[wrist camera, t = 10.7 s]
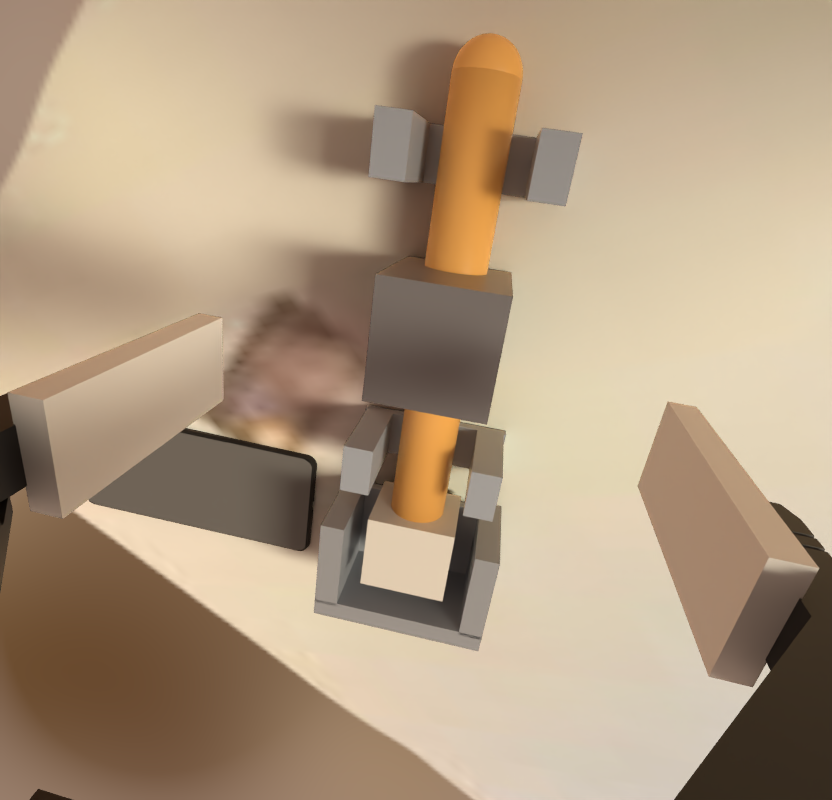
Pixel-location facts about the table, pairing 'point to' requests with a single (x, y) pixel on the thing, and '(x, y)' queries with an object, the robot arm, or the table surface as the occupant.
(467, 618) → the end holder
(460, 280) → the orange rod with blocks
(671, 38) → the table surface
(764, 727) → the robot arm
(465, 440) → the clip
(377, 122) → the clip
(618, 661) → the table surface
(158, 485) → the smartphone
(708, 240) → the table surface
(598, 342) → the table surface
